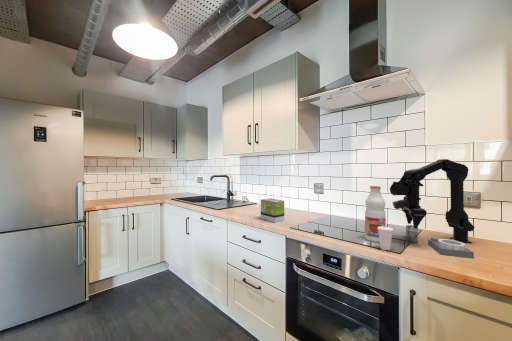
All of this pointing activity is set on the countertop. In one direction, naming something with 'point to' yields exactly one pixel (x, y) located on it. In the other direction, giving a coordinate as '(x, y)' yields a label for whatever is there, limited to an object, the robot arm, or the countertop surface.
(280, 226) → the countertop surface
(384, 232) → the smoothie
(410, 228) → the lens
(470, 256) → the camera body
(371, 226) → the fruit juice
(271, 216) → the tea box
